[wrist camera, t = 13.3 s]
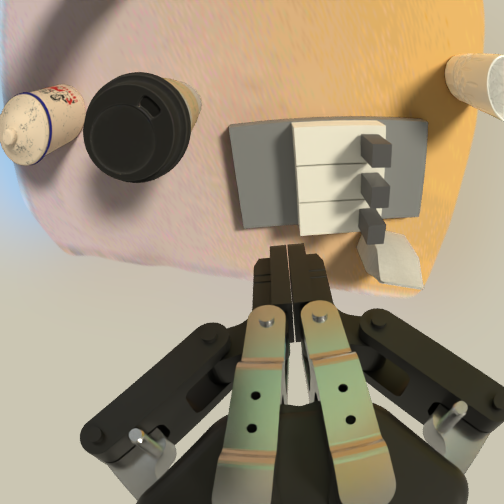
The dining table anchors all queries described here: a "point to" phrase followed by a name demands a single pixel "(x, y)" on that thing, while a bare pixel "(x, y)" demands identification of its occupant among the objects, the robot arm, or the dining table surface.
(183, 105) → the coffee cup
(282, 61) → the dining table surface
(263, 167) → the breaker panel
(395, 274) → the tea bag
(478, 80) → the white cup
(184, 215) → the dining table surface
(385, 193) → the handle
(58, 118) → the teacup with lid
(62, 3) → the dining table surface
